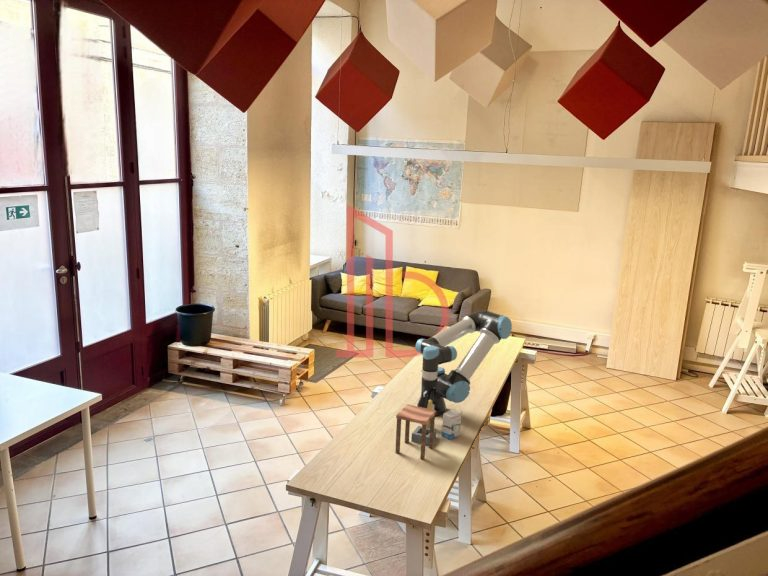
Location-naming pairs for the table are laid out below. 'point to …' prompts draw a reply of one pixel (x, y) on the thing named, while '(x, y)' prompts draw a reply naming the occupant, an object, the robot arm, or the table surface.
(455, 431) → the ink box
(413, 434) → the socket block
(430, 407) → the peg
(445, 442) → the table surface
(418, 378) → the table surface
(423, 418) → the wooden stool
